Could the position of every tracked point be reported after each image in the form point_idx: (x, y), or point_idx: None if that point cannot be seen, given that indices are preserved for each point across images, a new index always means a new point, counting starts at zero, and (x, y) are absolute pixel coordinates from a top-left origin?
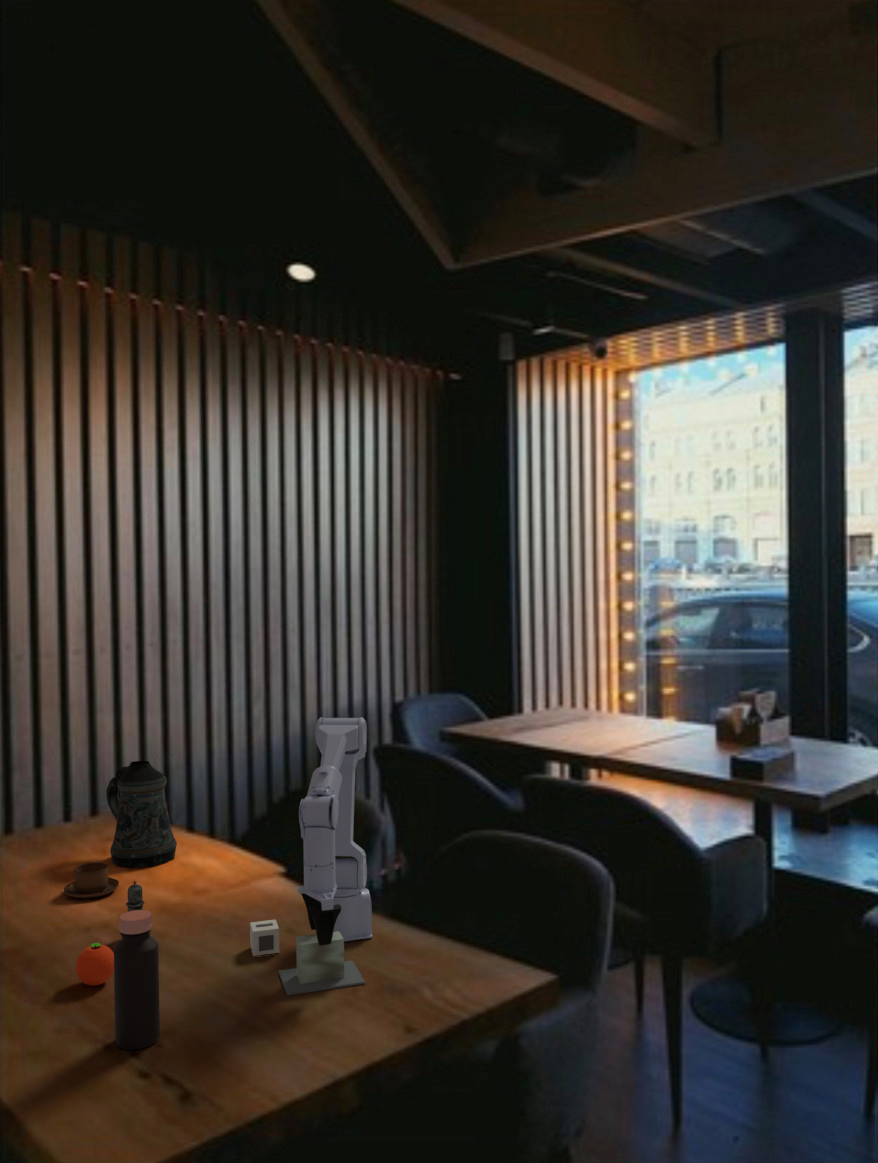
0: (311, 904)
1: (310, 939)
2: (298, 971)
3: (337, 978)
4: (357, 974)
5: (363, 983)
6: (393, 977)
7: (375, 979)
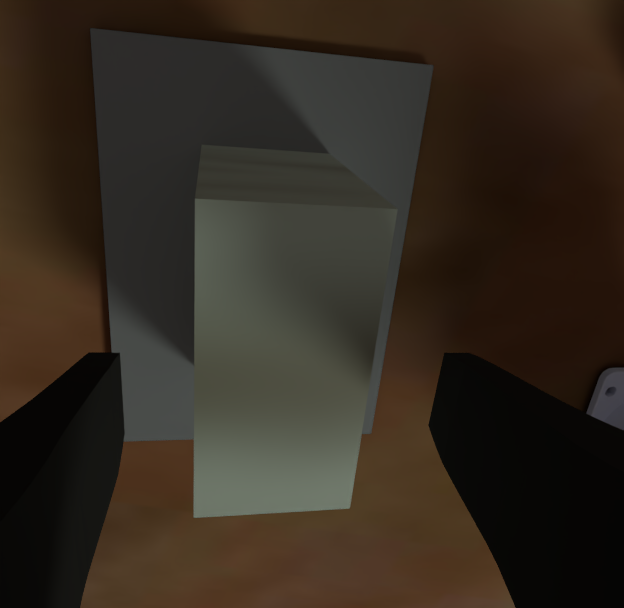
0: (580, 511)
1: (286, 308)
2: (269, 156)
3: None
4: None
5: None
6: (150, 537)
7: (155, 477)
